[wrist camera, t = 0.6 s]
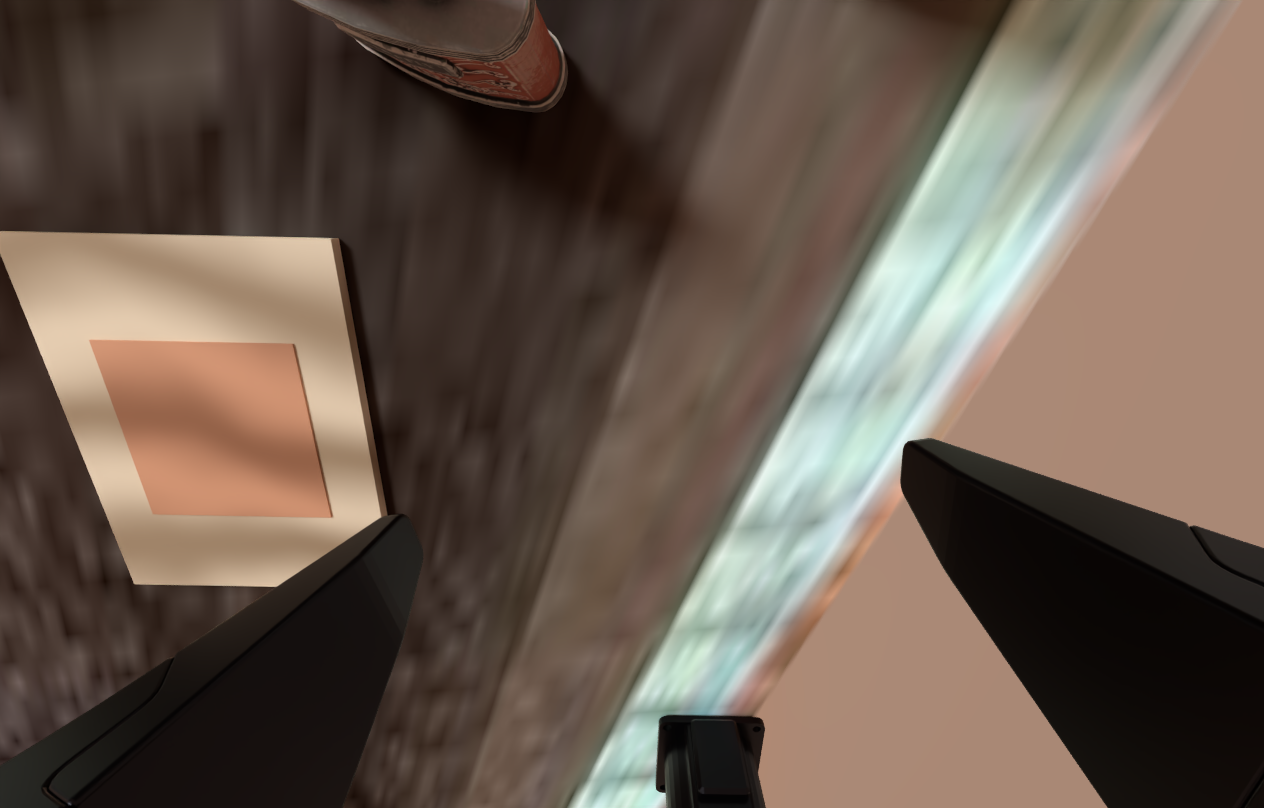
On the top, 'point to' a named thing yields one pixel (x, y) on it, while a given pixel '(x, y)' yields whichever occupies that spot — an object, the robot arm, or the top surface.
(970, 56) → the top surface
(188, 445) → the card
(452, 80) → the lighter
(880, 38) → the top surface
